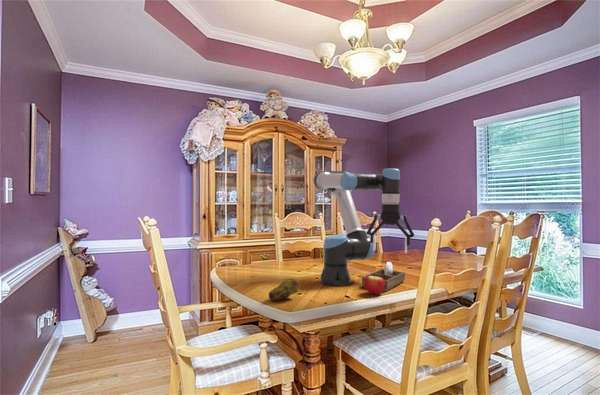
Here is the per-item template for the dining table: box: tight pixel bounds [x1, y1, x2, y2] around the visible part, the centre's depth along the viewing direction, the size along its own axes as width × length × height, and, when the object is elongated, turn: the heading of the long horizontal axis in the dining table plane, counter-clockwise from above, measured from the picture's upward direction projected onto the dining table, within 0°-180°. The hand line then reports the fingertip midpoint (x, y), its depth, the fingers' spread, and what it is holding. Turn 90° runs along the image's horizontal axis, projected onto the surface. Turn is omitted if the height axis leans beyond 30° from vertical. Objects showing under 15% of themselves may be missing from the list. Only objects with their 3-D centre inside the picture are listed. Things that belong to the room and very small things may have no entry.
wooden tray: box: [361, 268, 406, 292], centre depth 159 cm, size 12×23×5 cm, turn 143°
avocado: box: [268, 278, 299, 302], centre depth 133 cm, size 8×13×8 cm, turn 104°
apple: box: [365, 270, 384, 295], centre depth 143 cm, size 8×8×10 cm
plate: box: [384, 261, 394, 276], centre depth 163 cm, size 1×9×9 cm, turn 143°
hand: (389, 251), depth 144 cm, fingers open, 13 cm apart
